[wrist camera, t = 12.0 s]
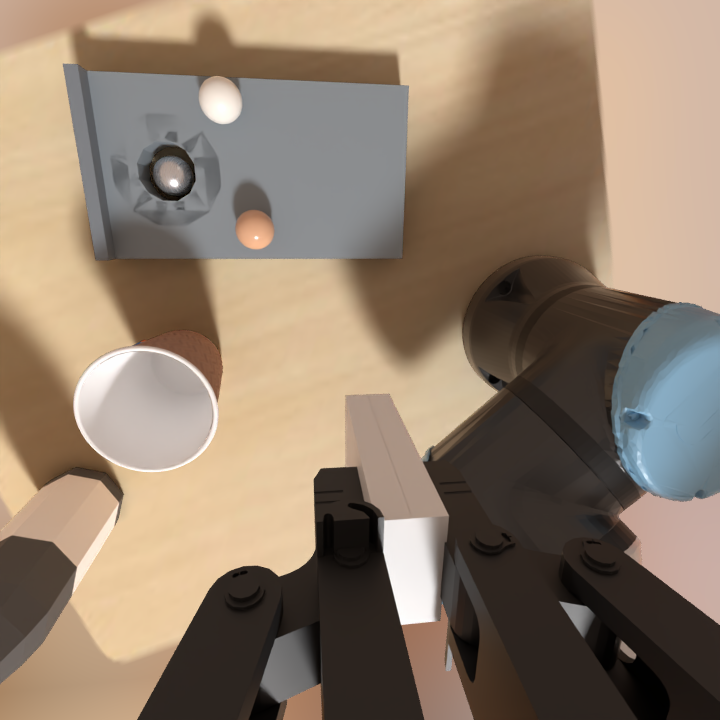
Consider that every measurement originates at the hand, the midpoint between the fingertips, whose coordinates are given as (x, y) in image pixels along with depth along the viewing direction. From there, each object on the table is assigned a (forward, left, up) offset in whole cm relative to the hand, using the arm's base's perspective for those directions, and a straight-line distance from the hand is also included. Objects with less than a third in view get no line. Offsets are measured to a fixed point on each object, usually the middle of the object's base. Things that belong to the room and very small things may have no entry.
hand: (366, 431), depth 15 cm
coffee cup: (+14, +7, -31) cm, 34 cm away
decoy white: (+8, -16, -26) cm, 31 cm away
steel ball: (+13, -10, -29) cm, 33 cm away
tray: (+6, -11, -30) cm, 33 cm away
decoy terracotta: (+6, -6, -26) cm, 27 cm away
